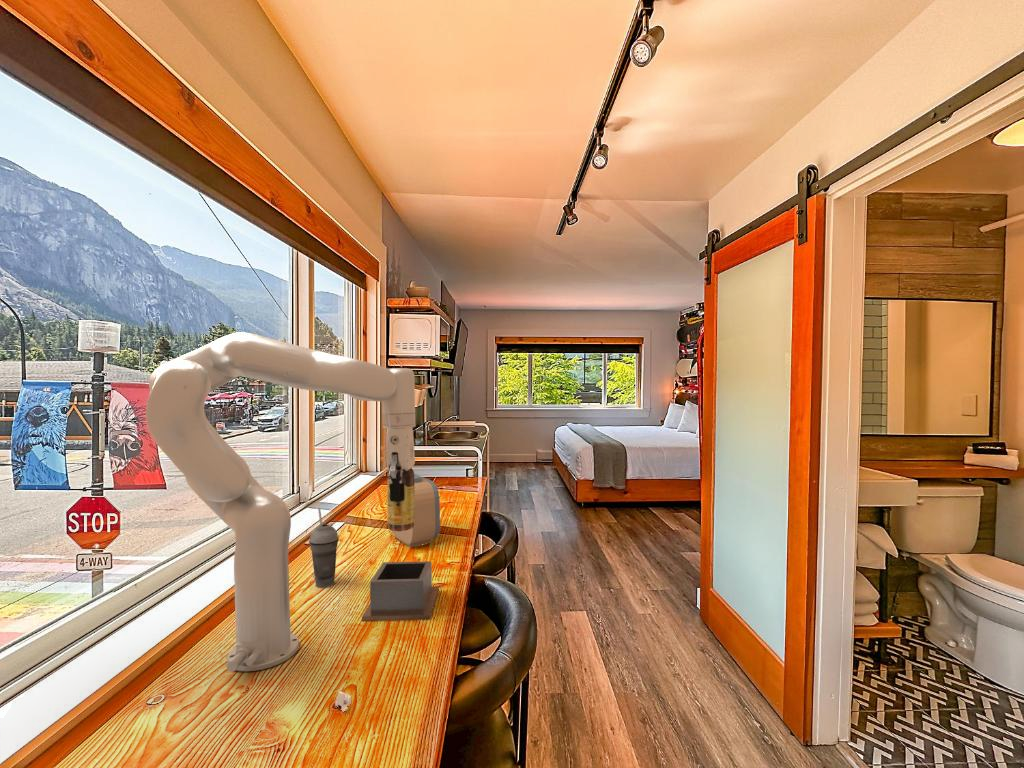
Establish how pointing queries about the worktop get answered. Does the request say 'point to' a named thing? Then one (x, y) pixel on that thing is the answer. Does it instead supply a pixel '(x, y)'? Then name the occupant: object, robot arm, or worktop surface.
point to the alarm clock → (423, 514)
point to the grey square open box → (401, 592)
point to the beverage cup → (324, 553)
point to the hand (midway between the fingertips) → (400, 496)
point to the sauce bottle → (402, 505)
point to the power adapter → (343, 700)
